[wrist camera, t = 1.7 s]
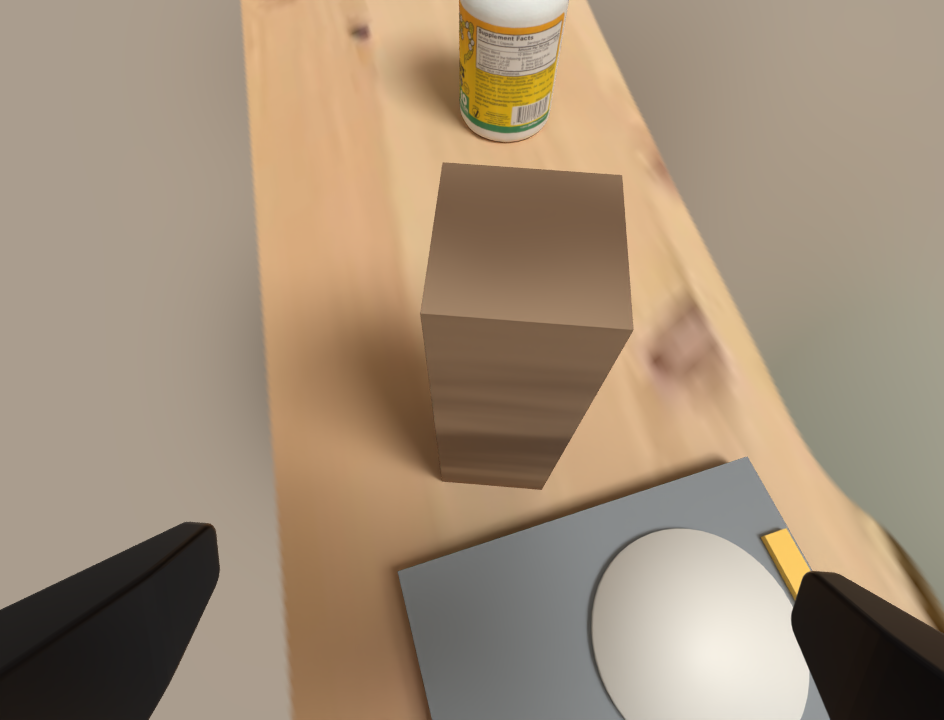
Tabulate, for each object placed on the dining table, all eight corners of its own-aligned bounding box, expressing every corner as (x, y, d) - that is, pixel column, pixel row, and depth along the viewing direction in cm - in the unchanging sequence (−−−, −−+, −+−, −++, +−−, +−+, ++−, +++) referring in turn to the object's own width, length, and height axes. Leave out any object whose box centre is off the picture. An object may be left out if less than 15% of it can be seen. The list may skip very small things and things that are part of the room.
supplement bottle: (537, 153, 30) (567, -39, 21) (447, 133, 30) (441, -62, 22) (557, 95, 32) (592, -100, 23) (474, 77, 33) (478, -118, 24)
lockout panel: (932, 826, 16) (1014, 861, 14) (508, 1031, 14) (517, 1114, 12) (733, 465, 21) (767, 444, 19) (401, 574, 19) (392, 566, 17)
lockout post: (541, 489, 21) (633, 329, 10) (441, 481, 21) (419, 313, 10) (543, 397, 23) (622, 175, 12) (451, 390, 23) (442, 162, 12)
